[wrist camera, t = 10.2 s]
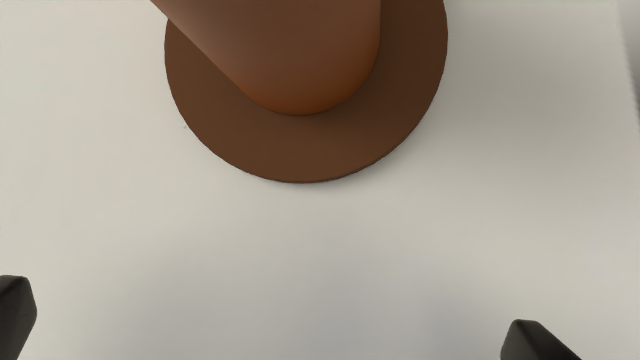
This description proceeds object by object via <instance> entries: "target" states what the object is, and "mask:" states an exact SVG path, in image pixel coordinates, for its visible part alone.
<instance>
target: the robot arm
mask: <svg viewBox="0 0 640 360" xmlns="http://www.w3.org/2000/svg"><path fill="white" fill-rule="evenodd" d="M36 317H37V308H36V304H35V300H34V297H33V293H32V289H31V286H30V282H29V280H28V279H27V278H26V277H23V276H12V275H2V276H0V360H17V359H18V356H19V354H20V352H21V350H22V348H23V346H24V344H25V342H26V340H27V338H28V336H29V334H30V332H31V330H32V328H33V326H34V323H35V321H36ZM500 359H501V360H582V359H580V358H579V357H578V356H577V355H576V354H575V353H574V352H572V351H571V350H570V349H569V348H568V347H567V346H565V345H564V344H563V343H562V342H561V341H560V340H559V339H557V338H556V337H555V336H554V335H553V334H552V333H550V332H549V331H548V330H547V329H546V328H545V327H544V326H542V325H541V324H540V323H538V322H537V321H532V320H521V319H517V320H514V321H513V322H512V323H511V325H510V328H509V331H508V333H507V336H506V338H505V341H504V344H503V346H502V349H501V355H500Z"/></svg>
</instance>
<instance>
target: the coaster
mask: <svg viewBox="0 0 640 360" xmlns="http://www.w3.org/2000/svg"><path fill="white" fill-rule="evenodd" d="M447 41H448V29H447V18H446V12H445V8H444V3H443V0H381V8H380V41H379V49H378V54H377V58H376V60H375V63H374V66H373V68H372V70H371V72H370V74H369V76H368V77H367V79H366V80H365V81H364V83H363V84H362V85H361V86H360V88H359V89H358V90H357V91H356V92H355V93H354V94H353V95H351V96H350V97H349V98H348V99H347V100H345V101H344V102H342V103H341V104H339V105H337V106H335V107H333V108H331V109H329V110H326V111H323V112H320V113H316V114H311V115H301V116H296V115H286V114H280V113H277V112H274V111H271V110H268V109H266V108H264V107H262V106H260V105H258V104H257V103H255V102H254V101H253V100H251V99H250V98H249V97H248V96H247V95H246V94H245V93H243V92H242V91H241V90H240V89H239V88H238V87H237V86H236V85H235V84H234V83H233V82H232V81H231V80H230V79H229V78H228V77H227V76H226V75H225V74H224V73H223V72H222V71H221V70H220V69H219V68H218V67H217V66H216V65H215V64H214V63H213V62H212V61H211V60H210V59H209V58H208V57H207V56H206V55H205V54H204V53H203V52H202V51H201V50H200V49H199V48H198V47H197V46H196V45H195V44H194V43H193V42H192V41H191V40H190V39H189V38H188V37H187V36H186V35H185V34H184V33H183V32H182V31H181V30H180V29H179V28H178V27H177V26H176V25H175V24H174V23H173V22H172V21H171V20H170V19H169V18H168V21H167V26H166V33H165V43H164V50H165V66H166V73H167V79H168V83H169V86H170V89H171V93H172V96H173V99H174V101H175V103H176V105H177V107H178V110H179V112H180V114H181V115H182V117H183V118H184V120H185V122H186V123H187V125H188V126H189V128H190V129H191V130H192V131H193V133H194V134H195V135H196V136H197V137H198V139H199V140H200V141H201V142H202V143H203V144H204V145H205V146H206V147H208V148H209V149H210V150H211V151H212V152H213V153H214V154H216V155H217V156H219V157H220V158H222V159H223V160H225V161H226V162H227V163H229V164H231V165H233V166H235V167H237V168H239V169H241V170H243V171H245V172H247V173H250V174H253V175H256V176H259V177H262V178H265V179H270V180H275V181H280V182H288V183H314V182H323V181H328V180H333V179H338V178H341V177H344V176H347V175H350V174H353V173H355V172H358V171H360V170H362V169H364V168H366V167H368V166H370V165H372V164H374V163H375V162H377V161H378V160H380V159H381V158H383V157H384V156H386V155H387V154H389V153H390V152H391V151H392V150H394V149H395V148H396V147H397V146H398V145H399V144H400V143H402V142H403V141H404V140H405V139H406V138H407V136H408V135H409V134H410V133H411V132H412V131H413V130H414V128H415V127H416V126H417V125H418V123H419V122H420V120H421V119H422V117H423V116H424V114H425V113H426V111H427V110H428V108H429V106H430V104H431V102H432V100H433V97H434V95H435V93H436V91H437V89H438V86H439V83H440V80H441V77H442V74H443V71H444V65H445V60H446V55H447Z"/></svg>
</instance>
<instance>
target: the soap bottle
mask: <svg viewBox="0 0 640 360" xmlns="http://www.w3.org/2000/svg"><path fill="white" fill-rule="evenodd" d="M150 1H151V2H152V3H153V4H154V5H155V6H157V7H158V8H159V9H160V10H161V11H162V12H163V13H164V14H165V15H166V16H167V17H168V18H169V19H170V20H171V21H172V22H173V23H174V24H175V25H176V26H177V27H178V28H179V29H180V30H181V31H182V32H183V33H184V34H185V35H186V36H187V37H188V38H189V39H190V40H191V41H192V42H193V43H194V44H195V45H196V46H197V47H198V48H199V49H200V50H201V51H202V52H203V53H204V54H205V55H206V56H207V57H208V58H209V59H210V60H211V61H212V62H213V63H214V64H215V65H216V66H217V67H218V68H219V69H220V70H221V71H222V72H223V73H224V74H225V75H226V76H227V77H228V78H229V79H230V80H231V81H232V82H233V83H234V84H235V85H236V86H237V87H238V88H239V89H240V90H241V91H242V92H243V93H245V94H246V95H247V96H248V97H249V98H250V99H251V100H253V101H254V102H255V103H257V104H258V105H260V106H262V107H264V108H266V109H268V110H271V111H274V112H277V113H280V114H286V115H296V116H301V115H311V114H316V113H320V112H323V111H326V110H329V109H331V108H333V107H335V106H337V105H339V104H341V103H342V102H344V101H345V100H347V99H348V98H349V97H350V96H351V95H353V94H354V93H355V92H356V91H357V90H358V89H359V88H360V86H361V85H362V84H363V83H364V81H365V80H366V79H367V77H368V76H369V74H370V72H371V70H372V68H373V66H374V63H375V60H376V58H377V54H378V49H379V41H380V8H381V0H150Z"/></svg>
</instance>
